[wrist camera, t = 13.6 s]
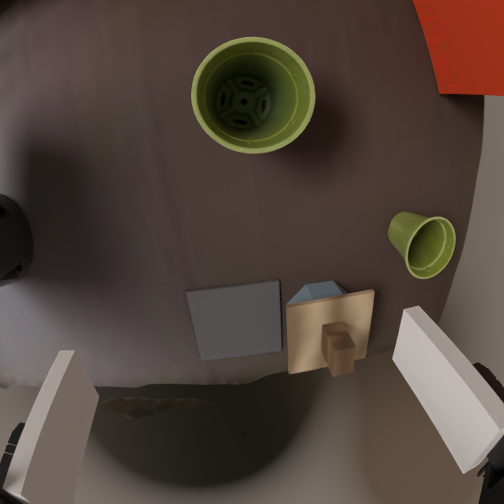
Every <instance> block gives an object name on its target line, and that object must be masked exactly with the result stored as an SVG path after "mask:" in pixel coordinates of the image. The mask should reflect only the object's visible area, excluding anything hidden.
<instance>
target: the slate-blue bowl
mask: <svg viewBox="0 0 504 504" xmlns="http://www.w3.org/2000/svg"><path fill="white" fill-rule="evenodd" d="M344 294H349V293H347V292H346V291H345V290H344V289H343V288H341V287H340V286H339V285H338V284H337V283H335V282H334V281H333V280H332V281H326V282H319V283H312V284H305V285H304V286H303V287H302V288H301V290H300V291H299V292H298V293H297V294H296V295H295V296H294V297H293V298H292V299H291V300H290V301H289V302H288V303H287V304H292V303H298V302H304V301H310V300H316V299H322V298H327V297H333V296H339V295H344ZM286 328H287V318H286Z"/></svg>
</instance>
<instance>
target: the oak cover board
mask: <svg viewBox="0 0 504 504" xmlns="http://www.w3.org/2000/svg"><path fill="white" fill-rule="evenodd" d="M374 293H375V292H374V291H373V289H370V290H365V291H360V292H355V293H349V294H344V295H339V296H333V297H327V298H322V299H316V300H310V301H304V302H298V303H292V304H286V318H287V342H288V371H289V374H293V373H298V372H304V371H309V370H314V369H319V368H323V367H329V370H330V372H331V374H332V376H333V377H336V376H340V375H344V374H348V373H352V372H353V367H354V361H355V360H358V359H362V358H365V356H366V350H367V344H368V338H369V331H370V324H371V317H372V309H373V301H374Z"/></svg>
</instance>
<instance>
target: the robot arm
mask: <svg viewBox="0 0 504 504" xmlns="http://www.w3.org/2000/svg"><path fill="white" fill-rule="evenodd" d="M32 254H33V242H32V236H31V231H30V228H29V225H28V223H27V220H26V218H25V216H24V215H23V213H22V212H21V210H20V209H19V207H18V206H17V205H16V204H15V203H14V202H13V201H12V200H10V199H9V198H7V197H6V196H3V195H1V194H0V287H2V286H5V285H8V284H11V283H13V282H15V281H16V280H18V279H19V278H20V277H21V276H22V275H23V274H24V273H25V272H26V270H27V269H28V267H29V265H30V263H31V259H32ZM392 359H393V361H394V362H395V364H396V366H397V367H398V369H399V370H400V372H401V373H402V374H403V376H404V378H405V379H406V381H407V382H408V384H409V385H410V387H411V389H412V390H413V392H414V393H415V395H416V396H417V398H418V399H419V401H420V403H421V404H422V406H423V407H424V409H425V411H426V412H427V414H428V416H429V417H430V419H431V420H432V422H433V424H434V425H435V427H436V429H437V430H438V432H439V434H440V435H441V437H442V439H443V440H444V442H445V443H446V445H447V447H448V449H449V450H450V452H451V453H452V455H453V457H454V459H455V461H456V462H457V464H458V466H459V468H460V469H461V471H462V473H463V474H464V473H465V472H467V471H469V470H471V469H472V468H474V467H476V466H477V465H479V464H480V463H481V461H482V460H483V459H484V458H485V457H486V456H487V458H488V459H489V461H488V462H487V463H486V464H485V465H484V466H483V467H482V468H481V469H480V471H479V472H478V474H477V476H478V477H479V476H480V475H481V474H482V473H483V472H484V471H485V474H484V475H483V477H484V481H483V486H482V491H481V495H480V500H479V504H504V387H502V384H501V383H500V382H499V381H498V380H496V377H495V376H494V375H493V374H492V372H491V371H490V370H489V369H488V368H486V367H485V366H483V365H481V364H480V363H475V364H473V365H472V364H471V363H470V362H469V361H468V359H467V358H466V357H465V356H464V355H463V354H462V353H461V351H459V349H458V348H457V347H456V346H455V345H454V343H453V342H452V341H451V340H450V339H449V338H448V337H447V336H446V335H445V333H444V332H443V331H441V329H440V328H439V327H438V326H437V325H436V324H435V323H434V321H433V320H432V319H431V318H430V317H429V316H428V315H427V314H426V313H425V312H424V311H423V310H422V309H421V308H420V307H419V306H415V307H411V308H407V309H404V311H403V316H402V320H401V325H400V329H399V334H398V338H397V342H396V346H395V350H394V354H393V358H392ZM98 400H99V395H98V393H97V392H96V390H95V388H94V386H93V384H92V382H91V381H90V379H89V377H88V375H87V373H86V371H85V369H84V367H83V365H82V363H81V361H80V359H79V357H78V355H77V353H76V351H75V350H60V351H59V353H58V355H57V357H56V359H55V361H54V363H53V365H52V367H51V369H50V371H49V373H48V375H47V377H46V379H45V381H44V383H43V385H42V388H41V390H40V392H39V394H38V397H37V399H36V401H35V403H34V406H33V408H32V410H31V413H30V415H29V417H28V419H27V422H26V423H19V425H18V426H17V427H16V428H15V429H14V430H13V432H12V434H11V436H10V439H9V441H8V445H7V447H6V449H5V454H3V457H2V460H1V462H0V504H73V502H74V497H75V492H76V487H77V482H78V477H79V473H80V468H81V464H82V460H83V455H84V451H85V447H86V443H87V439H88V435H89V431H90V428H91V424H92V420H93V417H94V413H95V410H96V406H97V403H98Z"/></svg>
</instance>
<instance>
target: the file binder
mask: <svg viewBox="0 0 504 504" xmlns="http://www.w3.org/2000/svg"><path fill="white" fill-rule="evenodd" d="M412 1H413V4H414V6H415V9H416V12H417V15H418V18H419V21H420V23H421V27H422V30H423V33H424V36H425V39H426V43H427V46H428V50H429V53H430V57H431V60H432V64H433V68H434V72H435V77H436V81H437V85H438V90H439V94H477V95H497V96H504V0H412Z"/></svg>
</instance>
